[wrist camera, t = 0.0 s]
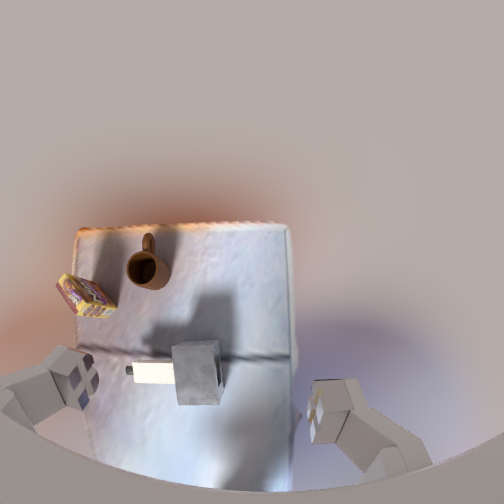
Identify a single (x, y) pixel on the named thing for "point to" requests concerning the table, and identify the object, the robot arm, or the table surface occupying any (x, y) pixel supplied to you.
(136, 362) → the plug
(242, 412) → the table surface
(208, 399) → the housing
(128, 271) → the mug
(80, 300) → the candy box
